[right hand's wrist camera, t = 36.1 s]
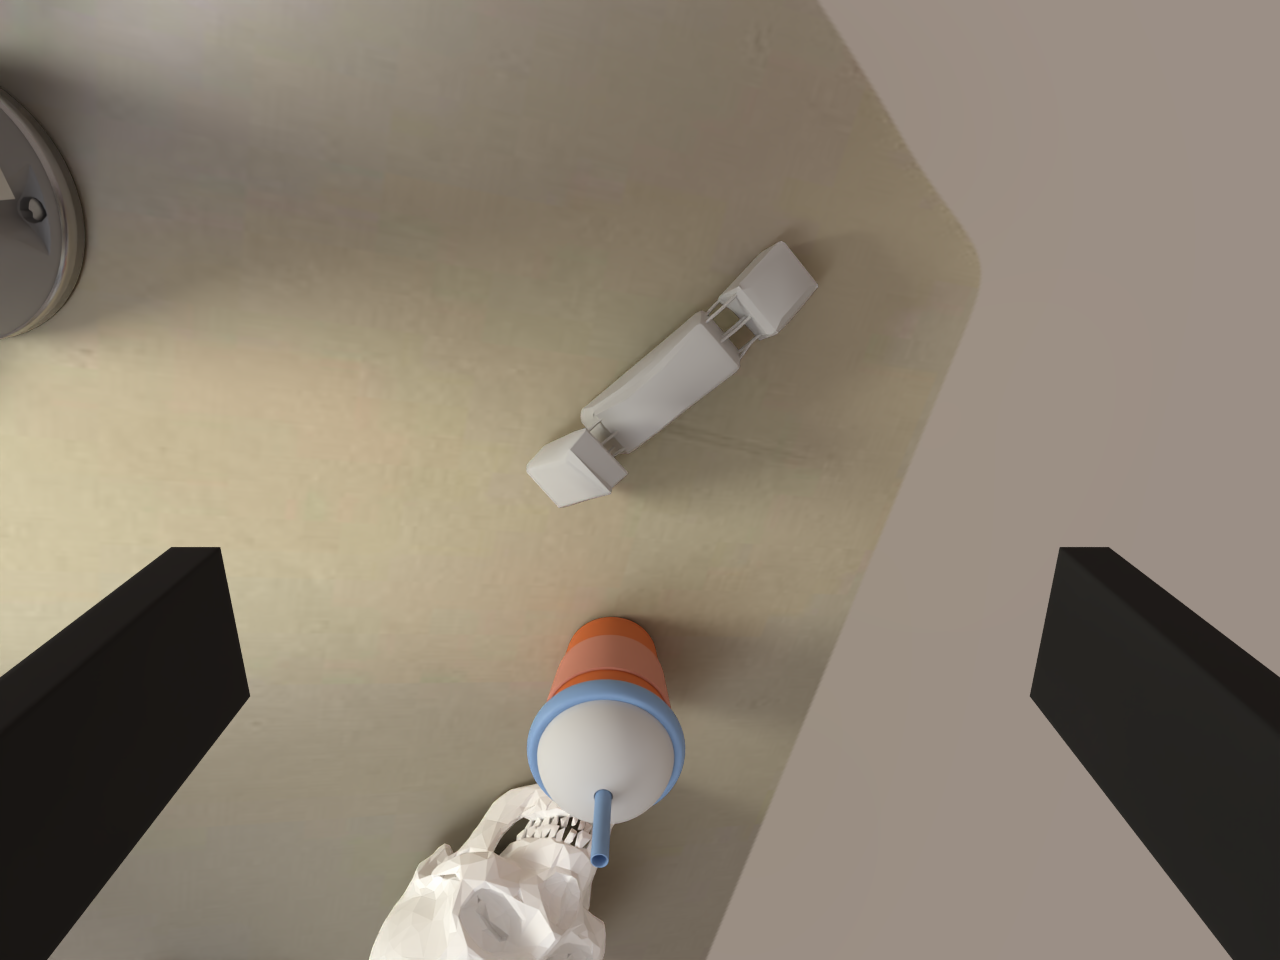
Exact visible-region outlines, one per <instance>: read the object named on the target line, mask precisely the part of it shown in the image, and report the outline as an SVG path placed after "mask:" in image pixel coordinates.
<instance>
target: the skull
mask: <svg viewBox="0 0 1280 960" xmlns="http://www.w3.org/2000/svg"><path fill="white" fill-rule="evenodd" d="M559 817H564V818H562V819H561V818H560V819H561V828H563V827H567V824H568V821H569V817H573V816H571V815H570V814H568V813H567V812H565V811H564V810H563V809H561V808H560V807H559V806H558V805H557V804H556V803H555V802H554V801H553V800H552V799H550V798H549V797H548V796H547V795H546V794H545V793H544V792H543V790H542V789H541V788H540V787H539V785H538V784H533V785H528V786H523V787H519V788H515V789H511V790H509V791H508V792H506V793H505V794H503V795H502V796H500V797H499V798H498V799H497V800H496V801H495V802H493V804H492V805H491V807H490V808H489V810H488V811H487V813H486V814H485V816H484V817H483V819H482V820H481V822H480V823H479V825H478V826H477V828H476V829H475V830H474V831H473V833H472V834H471V836H470V838H469V839H468V840H467V841H466V842H465V843H464V844H463V846H462V847H461V848H460V849H459V850H458V851H457V852H455V853H453V850H452V848H451V846H450V845H448V844H446V843H444V844H443V845H441V846H440V847H438V849H437V850H436V851H435V852H434V853H433V854H432V855H431V856H430V857H428V858H427V859H425V860H424V861H422V862H421V863H419V865H418V867H417V869H416V871H415V874H414V877H413V879H412V881H411V882H410V884H409V886H408V887H407V889H406V891H405V892H404V894H403V895H402V897H401V898H400V899H399V901H398V902H397V903H396V905H395V906H394V907H393V909H392V910H391V912H390V914H389V915H388V917H387V918H386V920H385V921H384V923H383V925H382V927H381V929H380V931H379V934H378V936H377V938H376V941H375V943H374V945H373V947H372V951H371V954H370V957H369V960H603V957H604V954H605V940H606V933H605V924H604V922H603V921H602V920H600V919H599V918H597V917H596V916H594V915H593V914H591V913H590V912H589V911H588V910H589V906H590V895H591V885H592V881H593V878H594V875H595V873H596V870H597V867H595V866H593V865H592V864H591V861H590V858H591V845H592V831H593V823H590V824H589V822H588V823H587V822H585V821H582V820H581V821H580V824H579V828H578V830H581V831H580V832H579V833H578V834H577V831H576V830H574V829H573V828H571V830H570V832H569V834H568V835H567V837H566V839H565V841H563V840H562V837H563V834H564V830H565V828H563V829H561V830H559V831H558V828H559V826H558V825H557V824H558V821H559ZM522 818H526V819H528V820H530V821H529V823H528V824H527V826H526V827H525V829H524V830H522V831H521V832H520V833H519V834H518V835H517V838H516V841H515V842H512V843H510V844H509V845H508V846H507V847H506V849H505V850H504V851H503V852H502V853H501V854H500V855H497V854H496V853H494V850H495V848H496V846H497V844H498V842H499V841H500V839H501V838H502V837H503V835H504V834H505V833H506V832H507V831H508V830H509V829H510V828H511V827H512V826H513V825H514V824H515V823H516V822H517V821H518V820H520V819H522ZM542 820H543V822H542ZM550 820H553V821H552V822H551V824H550ZM534 821H535V823H534ZM577 822H578V819H577V818H575V817H573V820H572V824H571V825H572V826H574V825H576V823H577ZM585 823H586V824H585ZM533 824H534V825H533ZM613 826H614V824H610V834H611V829H612V827H613ZM584 827H585V828H584ZM583 829H584V831H583ZM590 830H591V834H589V832H590ZM557 831H558V833H557ZM549 832H550V833H549ZM548 833H549V836H548V837H546V836H547V835H548ZM556 833H557V834H556ZM576 834H577V839H576V843H575V847H574V846H572V845H571V844H570V843H571V842H572V841H573V839H574V837H575V835H576ZM555 836H556V838H555ZM590 839H591V840H590ZM589 840H590V842H589V843H588V844H587V845H586V846H585V844H586V843H587V842H588V841H589ZM584 846H585V847H584ZM583 847H584V848H583Z"/></svg>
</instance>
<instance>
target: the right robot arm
mask: <svg viewBox="0 0 1280 960" xmlns="http://www.w3.org/2000/svg"><path fill="white" fill-rule="evenodd" d="M84 249H85V228H84V219H83V212H82V207H81V203H80V199H79V195H78V192H77V189H76V186H75V183H74V181H73V178H72V176H71V174H70V171H69V169H68V167H67V165H66V163H65V161H64V159H63V158H62V156H61V154H60V152H59V151H58V149H57V147H56V146H55V144H54V143H53V141H52V140H51V138H50V137H49V136H48V134H47V133H46V132H45V130H44V129H43V128H42V126H41V125H40V124H39V123H38V122H37V121H36V120H35V118H34V117H33V116H32V115H31V114H30V113H29V112H28V111H27V110H26V109H25V108H24V107H23V106H22V105H21V104H20V103H19V102H17V101H16V100H15V99H14V98H13V97H12V96H10V95H9V94H8V93H7V92H5V91H4V90H3V89H1V88H0V339H4V338H8V337H13V336H17V335H20V334H22V333H25V332H28V331H30V330H32V329H34V328H36V327H38V326H40V325H41V324H43V323H44V322H46V321H47V320H48V319H50V318H51V317H52V316H53V315H54V314H55V313H56V312H57V311H58V310H59V309H60V308H61V307H62V306H63V305H64V303H65V302H66V300H67V299H68V297H69V296H70V294H71V292H72V291H73V289H74V287H75V285H76V282H77V280H78V277H79V274H80V271H81V267H82V263H83V257H84ZM249 697H250V693H249V688H248V683H247V678H246V673H245V668H244V663H243V658H242V653H241V648H240V643H239V638H238V633H237V628H236V623H235V618H234V613H233V608H232V603H231V598H230V593H229V588H228V584H227V579H226V574H225V569H224V564H223V559H222V554H221V549H220V547H171V548H170V549H168V550H167V551H166V552H164V553H163V554H162V555H160V556H159V557H158V558H156V559H155V560H154V561H152V562H151V563H150V564H149V565H147V566H146V567H145V568H143V569H142V570H141V571H139V572H138V573H137V574H135V575H134V576H133V577H131V578H130V579H129V580H128V581H126V582H125V583H124V584H122V585H121V586H120V587H118V588H117V589H116V590H114V591H113V592H112V593H110V594H109V595H108V596H106V597H105V598H104V599H103V600H101V601H100V602H99V603H97V604H96V605H95V606H93V607H92V608H91V609H89V610H88V611H87V612H85V613H84V614H83V615H82V616H80V617H79V618H78V619H76V620H75V621H74V622H72V623H71V624H70V625H68V626H67V627H66V628H64V629H63V630H62V631H61V632H59V633H58V634H57V635H55V636H54V637H53V638H51V639H50V640H49V641H47V642H46V643H45V644H43V645H42V646H41V647H39V648H38V649H37V650H36V651H34V652H33V653H32V654H30V655H29V656H28V657H26V658H25V659H24V660H22V661H21V662H20V663H18V664H17V665H16V666H15V667H13V668H12V669H11V670H9V671H8V672H7V673H5V674H4V675H3V676H1V677H0V960H47V959H48V958H49V957H50V955H51V954H52V953H53V951H54V950H55V949H56V947H57V946H58V945H59V944H60V942H61V941H62V940H63V938H64V937H65V936H66V935H67V933H68V932H69V931H70V929H71V928H72V927H73V925H74V924H75V923H76V922H77V920H78V919H79V918H80V916H81V915H82V914H83V912H84V911H85V910H86V909H87V907H88V906H89V905H90V903H91V902H92V901H93V899H94V898H95V897H96V896H97V894H98V893H99V892H100V890H101V889H102V888H103V886H104V885H105V884H106V883H107V881H108V880H109V879H110V877H111V876H112V875H113V874H114V872H115V871H116V870H117V868H118V867H119V866H120V864H121V863H122V862H123V861H124V859H125V858H126V857H127V855H128V854H129V853H130V851H131V850H132V849H133V848H134V846H135V845H136V844H137V842H138V841H139V840H140V838H141V837H142V836H143V835H144V833H145V832H146V831H147V829H148V828H149V827H150V826H151V824H152V823H153V822H154V820H155V819H156V818H157V816H158V815H159V814H160V813H161V811H162V810H163V809H164V807H165V806H166V805H167V803H168V802H169V801H170V800H171V798H172V797H173V796H174V794H175V793H176V792H177V790H178V789H179V788H180V787H181V785H182V784H183V783H184V781H185V780H186V779H187V777H188V776H189V775H190V774H191V772H192V771H193V770H194V768H195V767H196V766H197V765H198V763H199V762H200V761H201V759H202V758H203V757H204V755H205V754H206V753H207V752H208V750H209V749H210V748H211V746H212V745H213V744H214V742H215V741H216V740H217V739H218V737H219V736H220V735H221V733H222V732H223V731H224V729H225V728H226V727H227V726H228V724H229V723H230V722H231V720H232V719H233V718H234V717H235V715H236V714H237V713H238V711H239V710H240V709H241V707H242V706H243V705H244V704H245V702H246V701H247V700H248V698H249ZM1030 697H1031V698H1032V700H1033V701H1034V702H1035V703H1036V705H1037V706H1038V707H1039V709H1040V710H1041V711H1042V713H1043V714H1044V715H1045V716H1046V718H1047V719H1048V720H1049V722H1050V723H1051V724H1052V726H1053V727H1054V728H1055V729H1056V731H1057V732H1058V733H1059V735H1060V736H1061V737H1062V739H1063V740H1064V741H1065V742H1066V744H1067V745H1068V746H1069V748H1070V749H1071V750H1072V752H1073V753H1074V754H1075V755H1076V757H1077V758H1078V759H1079V761H1080V762H1081V763H1082V765H1083V766H1084V767H1085V768H1086V770H1087V771H1088V772H1089V774H1090V775H1091V776H1092V777H1093V779H1094V780H1095V781H1096V783H1097V784H1098V785H1099V787H1100V788H1101V789H1102V790H1103V792H1104V793H1105V794H1106V796H1107V797H1108V798H1109V800H1110V801H1111V802H1112V803H1113V805H1114V806H1115V807H1116V809H1117V810H1118V811H1119V813H1120V814H1121V815H1122V816H1123V818H1124V819H1125V820H1126V822H1127V823H1128V824H1129V826H1130V827H1131V828H1132V829H1133V831H1134V832H1135V833H1136V835H1137V836H1138V837H1139V838H1140V840H1141V841H1142V842H1143V844H1144V845H1145V846H1146V847H1147V849H1148V850H1149V851H1150V853H1151V854H1152V855H1153V857H1154V858H1155V859H1156V861H1157V862H1158V863H1159V864H1160V866H1161V867H1162V868H1163V870H1164V871H1165V872H1166V873H1167V875H1168V876H1169V877H1170V879H1171V880H1172V881H1173V883H1174V884H1175V885H1176V886H1177V888H1178V889H1179V890H1180V892H1181V893H1182V894H1183V896H1184V897H1185V898H1186V899H1187V901H1188V902H1189V903H1190V905H1191V906H1192V907H1193V908H1194V910H1195V911H1196V912H1197V914H1198V915H1199V916H1200V918H1201V919H1202V920H1203V922H1204V923H1205V924H1206V925H1207V927H1208V928H1209V929H1210V931H1211V932H1212V933H1213V935H1214V936H1215V937H1216V938H1217V940H1218V941H1219V942H1220V944H1221V945H1222V946H1223V947H1224V949H1225V950H1226V951H1227V953H1228V954H1229V955H1230V957H1231V958H1232V959H1233V960H1280V677H1279V676H1277V675H1276V674H1275V673H1273V672H1272V671H1271V670H1269V669H1268V668H1267V667H1265V666H1264V665H1263V664H1262V663H1260V662H1259V661H1258V660H1256V659H1255V658H1254V657H1252V656H1251V655H1250V654H1248V653H1247V652H1246V651H1244V650H1243V649H1242V648H1240V647H1239V646H1238V645H1237V644H1235V643H1234V642H1233V641H1231V640H1230V639H1229V638H1227V637H1226V636H1225V635H1223V634H1222V633H1221V632H1219V631H1218V630H1217V629H1216V628H1214V627H1213V626H1212V625H1210V624H1209V623H1208V622H1206V621H1205V620H1204V619H1202V618H1201V617H1200V616H1198V615H1197V614H1196V613H1195V612H1193V611H1192V610H1191V609H1189V608H1188V607H1187V606H1185V605H1184V604H1183V603H1181V602H1180V601H1179V600H1177V599H1176V598H1175V597H1174V596H1172V595H1171V594H1170V593H1168V592H1167V591H1166V590H1164V589H1163V588H1162V587H1160V586H1159V585H1158V584H1156V583H1155V582H1154V581H1152V580H1151V579H1150V578H1149V577H1147V576H1146V575H1145V574H1143V573H1142V572H1141V571H1139V570H1138V569H1137V568H1135V567H1134V566H1133V565H1131V564H1130V563H1129V562H1128V561H1126V560H1125V559H1124V558H1122V557H1121V556H1120V555H1118V554H1117V553H1116V552H1114V551H1113V550H1112V549H1110V548H1109V547H1060V549H1059V554H1058V559H1057V564H1056V569H1055V574H1054V579H1053V584H1052V588H1051V593H1050V598H1049V603H1048V608H1047V613H1046V618H1045V624H1044V628H1043V633H1042V638H1041V643H1040V648H1039V653H1038V658H1037V663H1036V668H1035V673H1034V678H1033V683H1032V688H1031V693H1030Z"/></svg>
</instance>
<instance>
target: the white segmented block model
mask: <svg viewBox="0 0 1280 960" xmlns="http://www.w3.org/2000/svg"><path fill="white" fill-rule="evenodd" d="M817 288H818V284H817V282H816V281H815V280H814V279H813V277H812V276H811V275H810V274H809V272H808V271H807V270H806V269H805V267H804V266H803V265H802V264H801V262H800V261H799V260H798V259H797V257H796V256H795V255H794V253H793V252H792V251H791V250H790V248H789V247H788V246H787V245H786V243H784V242H783V241H779V242H777V243H776V244H774V245H772V246H771V247H769V248H767V249H765V250H764V251H762V252H761V253H760V254H758V255H757V257H756V258H755V259H754V260H753V261H752V262H751V263H750V264H749V265H748V266H747V267H746V268H745V269H744V270H743V272H742V273H741V274H740V275H739V276H738V277H737V278H736V279H735V280H734V281H733V282H732V283H731V284H730V285H729V287H728V288H727V289H726V290H725V291H724V292H723V293H722V294H721V295H720V296H719V298H718V300H717V301H716V302H715V303H714V304H713V305H712V306H711V308H710V309H709V310H708V311H707V312H705V311H702V310H701V311H699V312H697V313H695V314H694V315H693V316H692V317H690V318H689V319H688V320H687V321H686V322H685V323H683V324H682V325H681V326H680V327H679V328H678V329H676V330H675V331H674V332H673V333H672V334H670V335H669V336H668V337H667V338H666V339H665V340H663V341H662V342H661V343H660V344H659V345H658V346H656V347H655V348H654V349H653V350H652V351H650V352H649V353H648V354H647V355H646V356H644V357H643V358H642V359H641V360H640V361H639V362H637V363H636V364H635V365H634V366H633V367H631V368H630V369H629V370H628V371H627V372H625V373H624V374H623V375H622V376H621V377H619V378H618V379H617V380H616V381H615V382H614V383H612V384H611V385H610V386H609V387H608V388H606V389H605V390H604V391H603V392H602V393H600V394H599V395H598V396H597V397H596V398H595V399H593V400H592V401H591V402H590V403H589V404H587V405H586V406H585V407H584V408H583V409H582V411H581V422H582V423H583V425H584V426H585V427H586V428H587V429H586V428H583V429H580V430H577V431H573V432H571V433H569V434H567V435H565V436H563V437H561V438H559V439H557V440H554V441H552V442H550V443H548V444H546V445H544V446H543V447H542V448H541V449H540V450H539V452H538V453H537V454H536V455H535V456H534V457H533V458H532V459H531V460H530V462H529V463H528V464H527V473H528V474H529V475H530V476H531V478H532V479H533V480H534V481H535V482H536V483H537V484H538V485H539V486H540V487H541V489H542V490H543V491H544V492H545V493H546V494H547V495H548V496H549V497H550V499H551V500H552V501H553V502H554V503H555V504H556V505H557V506H558V507H559V508H561V507H567V506H570V505H574V504H577V503H580V502H583V501H586V500H590V499H593V498H597V497H601V496H605V495H609V494H611V491H612V488H613V487H614V486H615V485H616V484H618V483H619V482H620V481H621V480H622V479H623V478H624V477H625V476H626V475H628V472H627V471H626V470H625V468H624V467H623V466H622V465H621V464H620V463H619V462H618V461H617V460H616V459H615V458H614V457H615V456H617V455H618V454H624V453H627V454H629V453H631V452H633V451H634V450H636V449H637V448H638V447H640V446H641V445H642V444H644V443H645V442H646V441H648V440H649V439H650V438H652V437H653V436H654V435H656V434H657V433H658V432H660V431H661V430H662V429H663V428H665V427H666V426H667V425H669V424H670V423H671V422H672V421H674V420H675V419H676V418H677V417H679V416H680V415H681V414H682V413H684V412H685V411H686V410H687V409H689V408H690V407H691V406H692V405H694V404H695V403H696V402H698V401H699V400H700V399H702V398H703V397H704V396H705V395H707V394H708V393H709V392H711V391H712V390H713V389H715V388H716V387H717V386H719V385H720V384H721V383H722V382H724V381H725V380H726V379H728V378H729V377H730V376H732V375H733V374H734V373H736V372H737V370H738V369H739V368H740V360H741V358H742V357H743V356H744V354H745V353H746V351H747V350H748V348H749V347H750V346H751V344H752V343H753V342H754V341H755V340H757V339H759V340H762V339H765V338H768V337H771V336H774V335H776V334H777V333H778V332H779V331H781V330H782V329H783V328H784V327H785V326H786V325H787V324H788V323H789V321H790V320H791V319H792V318H793V317H794V316H795V315H796V314H797V312H798V311H799V310H800V309H801V308H802V307H803V305H804V304H805V303H806V301H807V300H808V299H809V298H810V296H811V295H812V294H813V293H814V291H815V290H816V289H817ZM719 303H721V304H722V305H723V306H722V307H720V308H719V309H718V310H717V311H716V312H715V313H714V314H712V315H711V316H709V314H710V312H711V311H712V310H713V309H714V308H715V307H716V306H717V305H718V304H719ZM725 307H727V308H729V309H730V310H732V311H733V312H734V313H735V314H736V315H737V316H738V317H739V318H740V320H739V321H738V322H737V323H735V324H734V325H733V326H732V327H731V328H730V329H728V330H727V331H726V332H725V333H724V332H723V331H722V330H721V328H720V327H719V326H718V325H717V324H716V323H715V321H714V320H713V318H714V317H715V316H716V315H718V314H719V313H720V312H721V311H722V310H723V309H724V308H725ZM741 322H742V323H741ZM740 323H741V324H740ZM744 324H745V325H746V326H747V327H748V328H749V329H750V330H751V331H752V332H753V334H754V335H755V337H754V338H752V339H751V340H750V341H749V342H748V343H747V344H745V345H744V346H743V347H742V348H740V349H739V350H738V348H737V347H736V346H735V345H734V344H733V343H732V341H731V340H730V339H729V337H730V336H731V335H733V334H734V333H735V332H737V331H738V330H739V329H740V328H741V327H742V326H743V325H744ZM732 330H733V331H732ZM742 351H743V352H742ZM741 352H742V353H741ZM739 353H741V354H740V355H739ZM611 454H612V455H611Z"/></svg>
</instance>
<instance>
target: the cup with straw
mask: <svg viewBox="0 0 1280 960" xmlns="http://www.w3.org/2000/svg"><path fill="white" fill-rule="evenodd" d="M527 757H528V762H529V766H530V770H531V772H532V774H533V777H534V779H535V780H536V782H537V784H538V785H539V787H540V788H541V789H542V790H543V792H544V793H545V794H546V795H547V796H548V797H549V798H550V799H552V800H553V801H554V802H555V803H556V804H557V805H558V806H559V807H560V808H561V809H563V810H564V811H565V812H567V813H568V814H570V815H571V816H573V817H575V818H577V819H579V820H582V821H585V822H589V823H593V831H592V845H591V858H590V861H591V864H592V865H593V866H595V867H597V868H602V867H605V866H606V865H607V864H608V862H609V844H610V824H617V823H622V822H625V821H628V820H631V819H633V818H635V817H637V816H639V815H641V814H642V813H644V812H645V811H647V810H648V809H649V808H650V807H652V806H653V805H655V804H656V803H658V802H659V801H660V800H661V799H663V798H664V797H665V796H666V795H667V794H668V793H669V791H670V790H671V789H672V788H673V786H674V785H675V783H676V781H677V780H678V778H679V776H680V773H681V771H682V767H683V764H684V758H685V740H684V735H683V731H682V728H681V725H680V723H679V721H678V719H677V717H676V716H675V714H674V712H673V711H672V710H671V706H670V702H669V697H668V692H667V687H666V682H665V678H664V673H663V670H662V667H661V664H660V662H659V661H658V658H657V653H656V649H655V646H654V643H653V641H652V639H651V637H650V636H649V634H648V633H647V632H646V631H645V630H644V629H643V628H642V627H641V626H639V625H638V624H636V623H634V622H632V621H630V620H627V619H624V618H619V617H604V618H599V619H596V620H593V621H591V622H589V623H587V624H585V625H584V626H582V627H581V628H580V629H579V630H578V631H577V632H576V633H575V635H574V636H573V637H572V639H571V641H570V644H569V646H568V649H567V652H566V655H565V656H564V657H563V659H562V661H561V662H560V665H559V667H558V670H557V673H556V676H555V679H554V681H553V684H552V687H551V690H550V693H549V696H548V699H547V702H546V703H545V705H544V706H543V707H542V708H541V709H540V711H539V712H538V714H537V715H536V717H535V719H534V721H533V723H532V725H531V728H530V731H529V735H528V741H527Z"/></svg>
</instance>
